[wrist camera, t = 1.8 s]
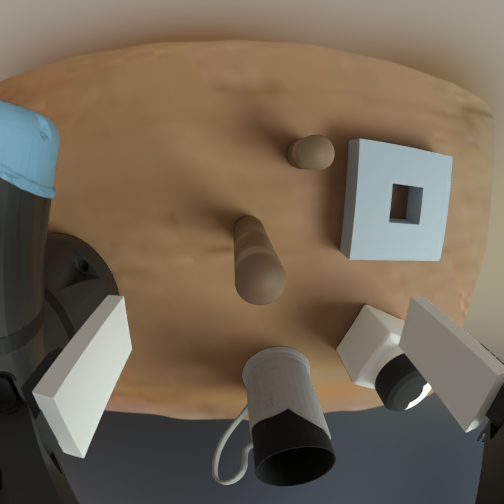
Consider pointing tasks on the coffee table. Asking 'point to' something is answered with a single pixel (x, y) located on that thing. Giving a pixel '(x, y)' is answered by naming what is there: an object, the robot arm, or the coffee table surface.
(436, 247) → the collar plate
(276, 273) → the long pin
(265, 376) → the grey black mug
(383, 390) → the medicine bottle
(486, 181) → the coffee table surface
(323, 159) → the short pin
